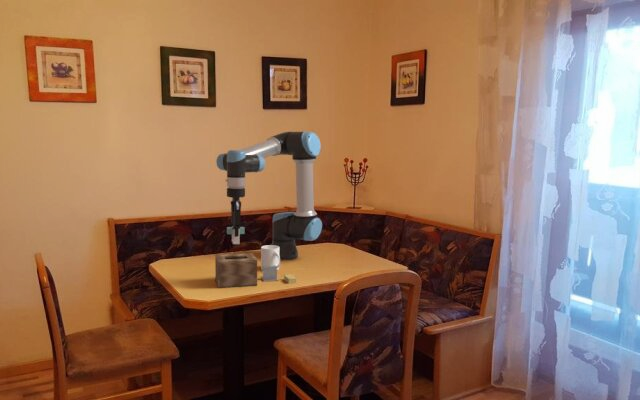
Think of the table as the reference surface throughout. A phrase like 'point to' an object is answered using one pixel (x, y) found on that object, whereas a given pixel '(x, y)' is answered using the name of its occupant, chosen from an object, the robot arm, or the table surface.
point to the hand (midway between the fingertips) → (235, 242)
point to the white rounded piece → (270, 256)
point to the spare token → (289, 278)
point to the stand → (269, 273)
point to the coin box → (236, 270)
